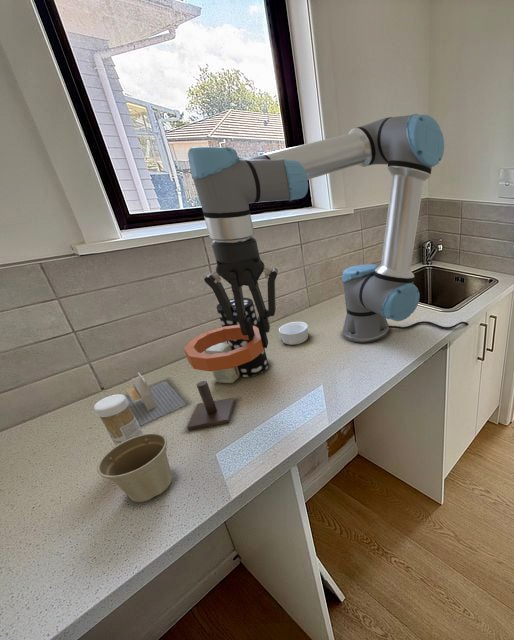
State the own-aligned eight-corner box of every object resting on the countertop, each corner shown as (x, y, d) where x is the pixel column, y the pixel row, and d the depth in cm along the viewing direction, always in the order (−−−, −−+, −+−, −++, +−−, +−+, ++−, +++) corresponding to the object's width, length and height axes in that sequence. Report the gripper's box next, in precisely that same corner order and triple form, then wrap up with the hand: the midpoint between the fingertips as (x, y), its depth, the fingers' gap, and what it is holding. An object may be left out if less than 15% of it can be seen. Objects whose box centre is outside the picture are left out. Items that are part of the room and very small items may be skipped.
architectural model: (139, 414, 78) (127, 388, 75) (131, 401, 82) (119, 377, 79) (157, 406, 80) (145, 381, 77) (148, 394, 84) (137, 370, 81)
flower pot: (109, 520, 55) (85, 485, 52) (128, 475, 63) (109, 442, 59) (176, 499, 59) (159, 465, 55) (186, 459, 66) (172, 426, 63)
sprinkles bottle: (117, 458, 67) (87, 405, 61) (142, 441, 71) (115, 390, 65) (131, 465, 65) (102, 412, 59) (156, 448, 69) (130, 396, 63)
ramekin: (309, 331, 115) (307, 319, 113) (310, 343, 107) (307, 331, 105) (281, 335, 112) (279, 323, 110) (280, 347, 105) (277, 335, 103)
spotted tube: (260, 377, 91) (243, 310, 82) (230, 377, 91) (209, 310, 82) (273, 360, 98) (258, 297, 90) (245, 360, 98) (227, 297, 90)
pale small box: (243, 374, 92) (233, 342, 88) (232, 383, 88) (222, 351, 84) (225, 372, 93) (215, 341, 88) (214, 382, 89) (203, 349, 85)
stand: (235, 400, 82) (225, 370, 78) (228, 422, 76) (217, 391, 72) (198, 407, 80) (186, 376, 76) (188, 430, 73) (174, 398, 69)
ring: (268, 332, 80) (265, 321, 79) (260, 364, 68) (257, 351, 66) (200, 341, 76) (196, 329, 75) (179, 376, 64) (174, 363, 63)
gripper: (276, 232, 68) (295, 333, 79) (194, 236, 64) (226, 342, 75) (273, 240, 62) (294, 349, 72) (182, 245, 58) (218, 360, 68)
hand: (260, 345), depth 73 cm, fingers closed on ring, 2 cm apart
